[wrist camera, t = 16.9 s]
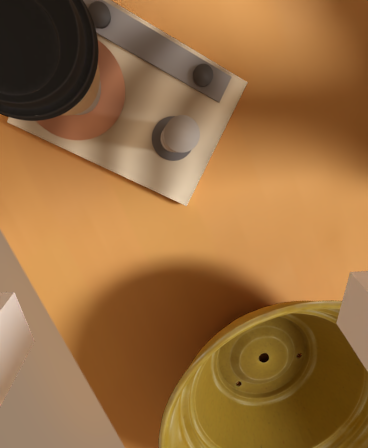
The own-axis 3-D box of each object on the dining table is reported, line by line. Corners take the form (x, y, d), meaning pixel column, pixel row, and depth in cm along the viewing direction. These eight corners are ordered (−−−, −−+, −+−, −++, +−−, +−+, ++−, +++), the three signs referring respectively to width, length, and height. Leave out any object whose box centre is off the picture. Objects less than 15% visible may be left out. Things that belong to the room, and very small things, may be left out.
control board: (243, 85, 34) (287, 53, 23) (185, 203, 37) (200, 226, 26) (60, -24, 30) (6, -128, 19) (8, 121, 32) (-65, 105, 21)
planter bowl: (110, 359, 42) (91, 453, 29) (277, 208, 39) (341, 237, 26) (246, 465, 50) (280, 575, 37) (393, 346, 47) (485, 420, 34)
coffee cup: (100, 27, 30) (54, -91, 15) (130, 119, 32) (115, 92, 18) (11, 52, 29) (-121, -45, 15) (48, 144, 32) (-34, 136, 17)
